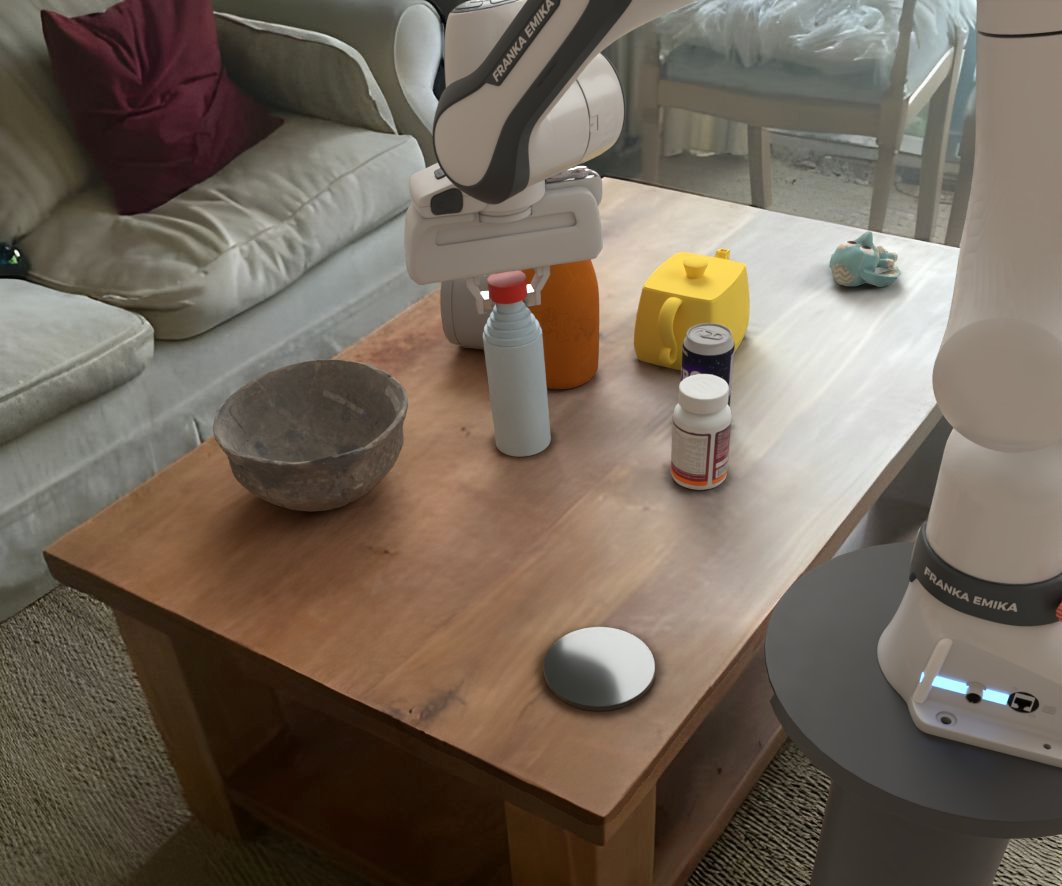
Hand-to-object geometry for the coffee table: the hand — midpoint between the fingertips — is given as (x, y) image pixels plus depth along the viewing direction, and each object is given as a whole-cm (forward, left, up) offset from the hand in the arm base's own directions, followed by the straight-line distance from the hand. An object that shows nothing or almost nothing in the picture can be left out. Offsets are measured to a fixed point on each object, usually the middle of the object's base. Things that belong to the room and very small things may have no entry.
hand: (508, 307), depth 116 cm
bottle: (-1, 0, -17) cm, 17 cm away
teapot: (-7, -30, -17) cm, 36 cm away
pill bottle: (-21, -4, -17) cm, 28 cm away
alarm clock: (+17, -21, -17) cm, 32 cm away
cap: (0, 0, +3) cm, 3 cm away
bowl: (+14, +18, -17) cm, 28 cm away
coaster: (-27, +27, -17) cm, 42 cm away
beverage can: (-17, -13, -17) cm, 28 cm away
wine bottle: (+4, -15, -17) cm, 23 cm away
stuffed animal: (-19, -58, -17) cm, 64 cm away
